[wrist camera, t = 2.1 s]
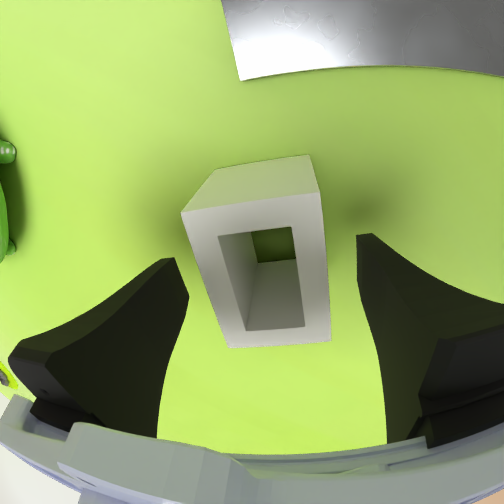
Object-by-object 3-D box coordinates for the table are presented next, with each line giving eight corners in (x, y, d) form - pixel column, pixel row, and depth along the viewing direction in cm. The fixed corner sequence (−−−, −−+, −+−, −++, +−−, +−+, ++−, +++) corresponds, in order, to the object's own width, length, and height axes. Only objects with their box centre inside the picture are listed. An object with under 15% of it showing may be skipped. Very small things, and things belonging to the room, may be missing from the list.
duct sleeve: (214, 169, 14) (180, 212, 9) (308, 154, 13) (320, 192, 9) (243, 279, 17) (228, 347, 13) (322, 271, 16) (331, 341, 12)
